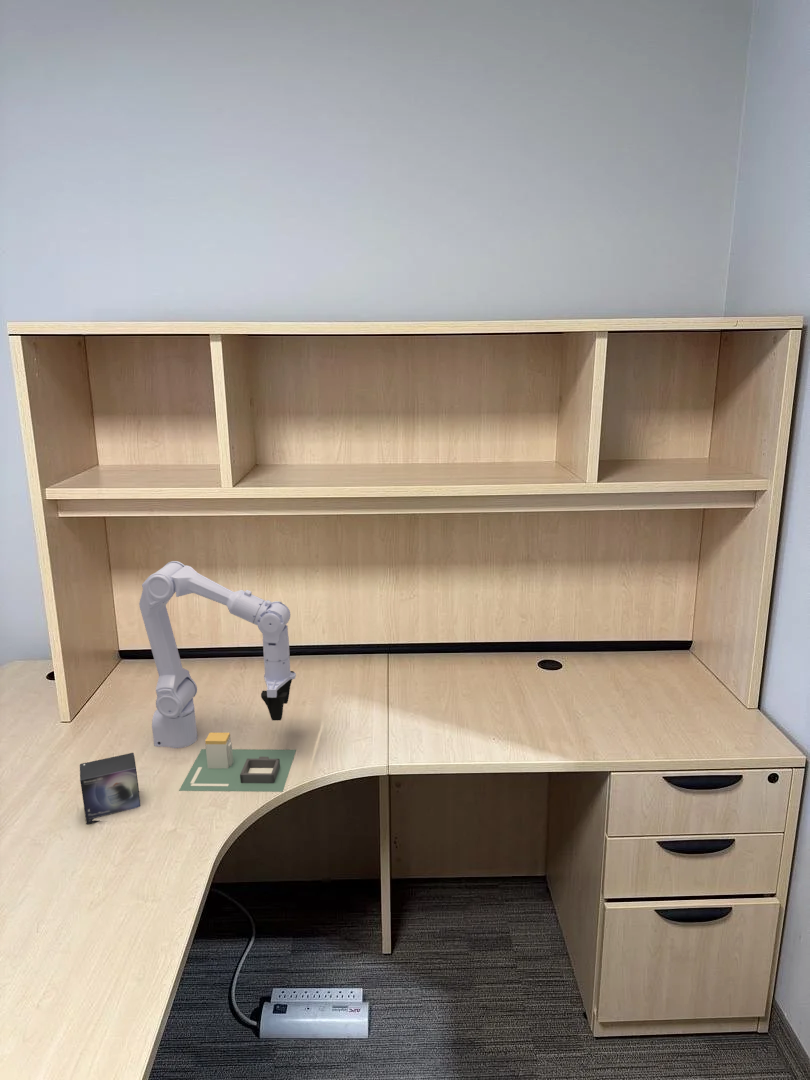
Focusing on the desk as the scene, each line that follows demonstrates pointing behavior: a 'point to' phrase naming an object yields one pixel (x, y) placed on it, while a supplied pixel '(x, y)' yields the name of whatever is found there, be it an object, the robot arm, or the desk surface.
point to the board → (242, 772)
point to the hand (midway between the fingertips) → (279, 711)
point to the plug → (219, 750)
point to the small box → (109, 786)
